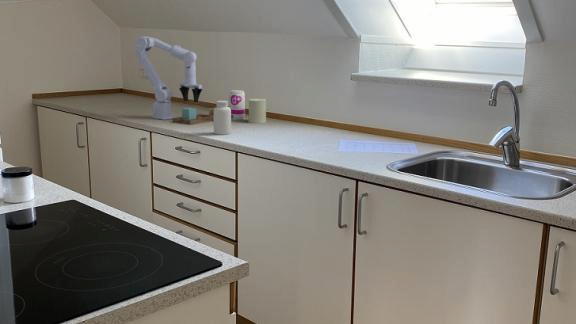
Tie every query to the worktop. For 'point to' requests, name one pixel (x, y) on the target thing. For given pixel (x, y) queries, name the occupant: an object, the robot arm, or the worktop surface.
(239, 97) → the supplement can
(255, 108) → the can
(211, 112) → the maple block
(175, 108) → the worktop surface
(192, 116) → the teal block
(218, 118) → the pill bottle
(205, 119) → the walnut frame
